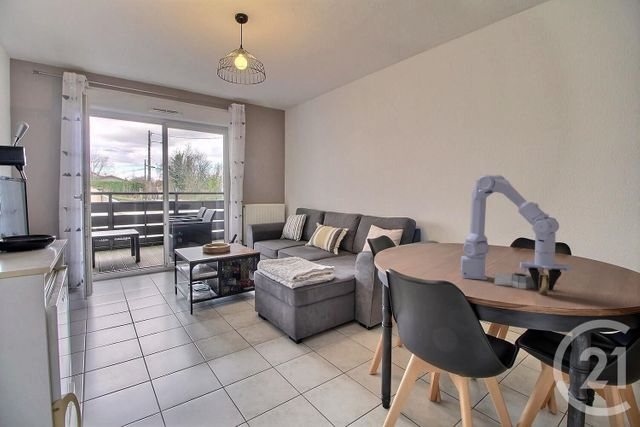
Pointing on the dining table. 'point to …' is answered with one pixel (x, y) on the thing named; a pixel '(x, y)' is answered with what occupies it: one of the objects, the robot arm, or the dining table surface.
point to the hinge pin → (543, 284)
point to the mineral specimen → (526, 271)
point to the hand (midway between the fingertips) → (543, 289)
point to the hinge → (514, 280)
